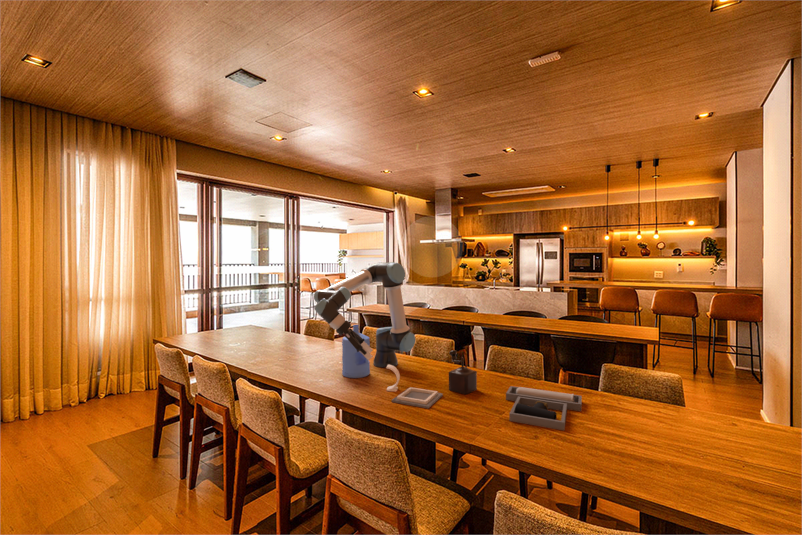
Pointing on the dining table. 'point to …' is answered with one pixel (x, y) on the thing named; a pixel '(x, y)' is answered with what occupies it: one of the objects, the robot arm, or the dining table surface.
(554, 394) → the tube
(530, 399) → the connector rest frame
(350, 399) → the dining table surface
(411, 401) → the coaster board
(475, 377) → the pepper mill
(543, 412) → the pipe connector
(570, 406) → the tube rest frame
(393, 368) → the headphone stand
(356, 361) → the water jug
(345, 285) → the robot arm
